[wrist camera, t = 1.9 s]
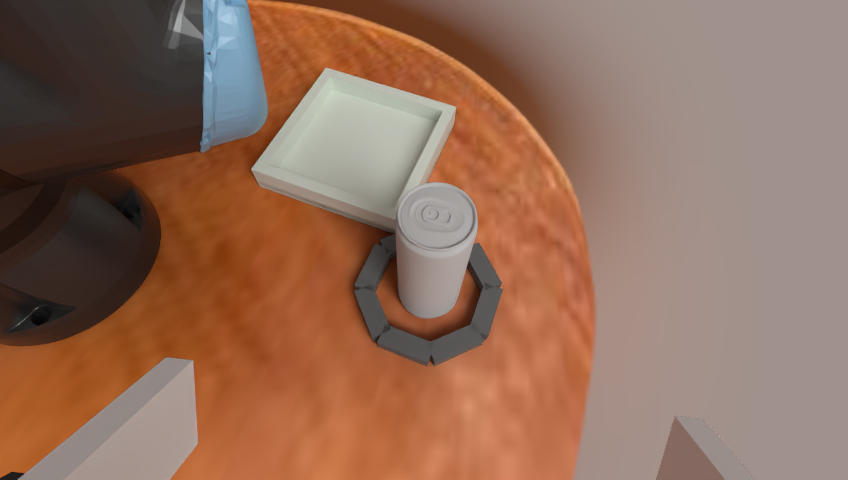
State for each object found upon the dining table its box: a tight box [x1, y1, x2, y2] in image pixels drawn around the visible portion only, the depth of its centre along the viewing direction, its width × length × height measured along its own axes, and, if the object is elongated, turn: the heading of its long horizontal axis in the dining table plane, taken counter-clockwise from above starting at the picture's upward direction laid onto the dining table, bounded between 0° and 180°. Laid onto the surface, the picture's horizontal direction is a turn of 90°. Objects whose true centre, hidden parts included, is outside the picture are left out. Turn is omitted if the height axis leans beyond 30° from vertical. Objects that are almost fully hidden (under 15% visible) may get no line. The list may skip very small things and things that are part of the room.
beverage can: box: [395, 182, 478, 319], centre depth 29 cm, size 5×5×12 cm
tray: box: [251, 68, 456, 234], centre depth 40 cm, size 14×14×2 cm
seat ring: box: [354, 234, 503, 366], centre depth 34 cm, size 11×11×1 cm
